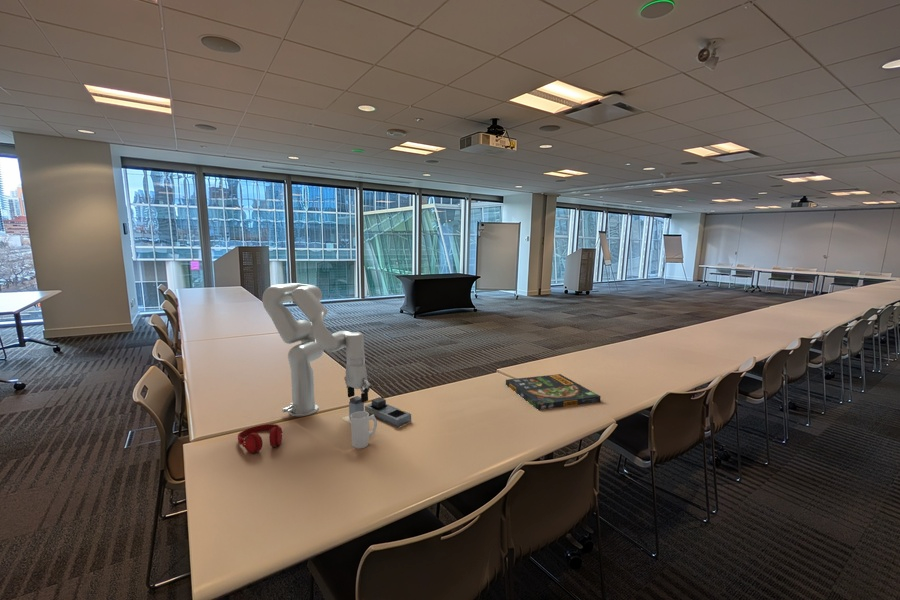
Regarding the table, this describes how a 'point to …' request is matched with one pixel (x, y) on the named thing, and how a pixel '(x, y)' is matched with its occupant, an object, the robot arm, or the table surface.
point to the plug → (355, 405)
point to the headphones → (255, 441)
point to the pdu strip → (388, 413)
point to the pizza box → (552, 391)
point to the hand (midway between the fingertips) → (357, 398)
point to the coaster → (346, 419)
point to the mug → (361, 428)
